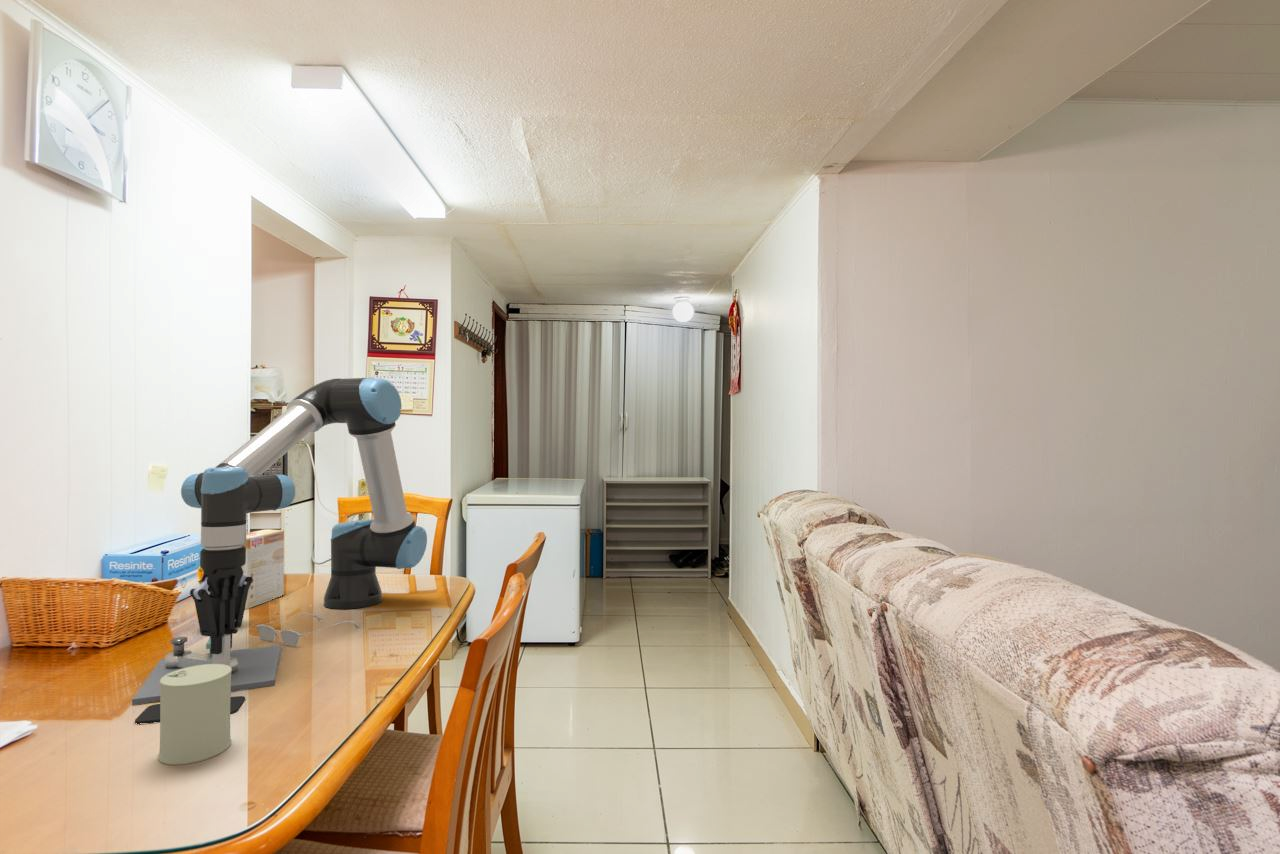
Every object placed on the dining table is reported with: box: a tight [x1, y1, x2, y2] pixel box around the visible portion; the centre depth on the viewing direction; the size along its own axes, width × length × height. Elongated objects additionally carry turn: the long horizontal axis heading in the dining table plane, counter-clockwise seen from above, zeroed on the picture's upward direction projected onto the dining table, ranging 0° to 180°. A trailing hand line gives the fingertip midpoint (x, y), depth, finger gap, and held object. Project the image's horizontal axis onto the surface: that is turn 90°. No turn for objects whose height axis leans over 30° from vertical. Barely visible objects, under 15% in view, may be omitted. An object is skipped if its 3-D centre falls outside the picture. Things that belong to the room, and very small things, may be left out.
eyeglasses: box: [255, 613, 362, 647], centre depth 159 cm, size 15×18×4 cm
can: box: [157, 664, 232, 766], centre depth 100 cm, size 9×9×12 cm
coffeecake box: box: [241, 528, 285, 610], centre depth 187 cm, size 15×7×20 cm, turn 172°
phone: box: [134, 695, 246, 725], centre depth 114 cm, size 7×1×15 cm
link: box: [164, 636, 238, 673], centre depth 132 cm, size 17×4×5 cm, turn 74°
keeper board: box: [131, 637, 282, 706], centre depth 131 cm, size 22×23×6 cm
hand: (221, 668), depth 128 cm, fingers closed
